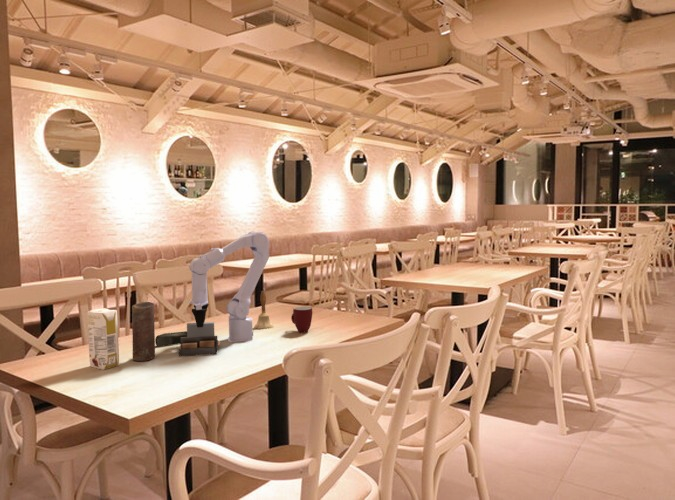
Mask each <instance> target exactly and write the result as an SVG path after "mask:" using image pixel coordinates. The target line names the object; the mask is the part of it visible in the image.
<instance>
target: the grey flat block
mask: <svg viewBox="0 0 675 500" xmlns="http://www.w3.org/2000/svg"><path fill="white" fill-rule="evenodd" d="M186 331H187V337H200V336H216V335H215V321H207V322H206V321H205V322H204V325H203V327H199V328H197V325H196V322H189V323H186Z"/></svg>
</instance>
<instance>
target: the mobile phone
mask: <svg viewBox="0 0 675 500" xmlns="http://www.w3.org/2000/svg"><path fill="white" fill-rule="evenodd" d="M181 337H187V330H186V331H175V332H174V331H173V332H165V333H162V334H159V335H157V336H156V337H155V348H159V347H167V346H173V345H179V344H180V345H181Z"/></svg>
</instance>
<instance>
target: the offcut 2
mask: <svg viewBox="0 0 675 500" xmlns="http://www.w3.org/2000/svg"><path fill="white" fill-rule="evenodd" d="M202 347H214V340H213V341H200V348H202Z"/></svg>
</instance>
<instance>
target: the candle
mask: <svg viewBox="0 0 675 500" xmlns="http://www.w3.org/2000/svg"><path fill="white" fill-rule="evenodd" d="M131 312H132V313H131V320H132V321H131V323H132V324H131V328H132V331H131V333H132V361H136V362H142V363H143V362H148V360H152V359H154V358H155V357H156V343H155V339H156V337H155V303H154V302H151V301H142V302H138V303H135V304H133V305H132V306H131Z"/></svg>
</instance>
